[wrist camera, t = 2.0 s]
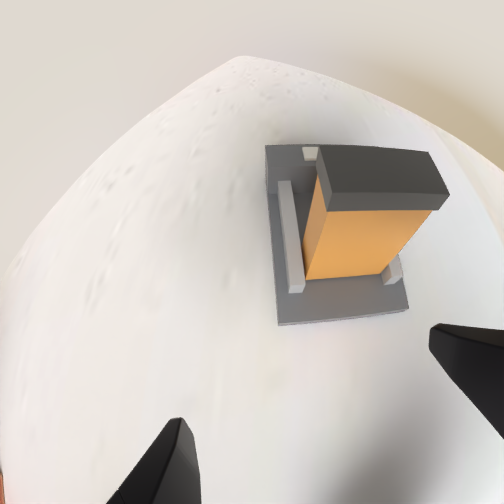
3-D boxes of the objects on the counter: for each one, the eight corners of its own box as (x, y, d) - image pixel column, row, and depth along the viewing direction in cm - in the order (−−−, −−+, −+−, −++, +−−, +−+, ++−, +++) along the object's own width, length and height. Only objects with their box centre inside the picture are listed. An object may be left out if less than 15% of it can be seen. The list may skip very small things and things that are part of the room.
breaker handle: (381, 275, 23) (449, 194, 13) (303, 282, 24) (332, 192, 13) (374, 242, 25) (428, 151, 14) (298, 246, 25) (318, 145, 14)
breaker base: (404, 311, 23) (432, 292, 18) (278, 325, 23) (281, 309, 18) (367, 177, 30) (379, 144, 25) (265, 178, 30) (265, 143, 26)
